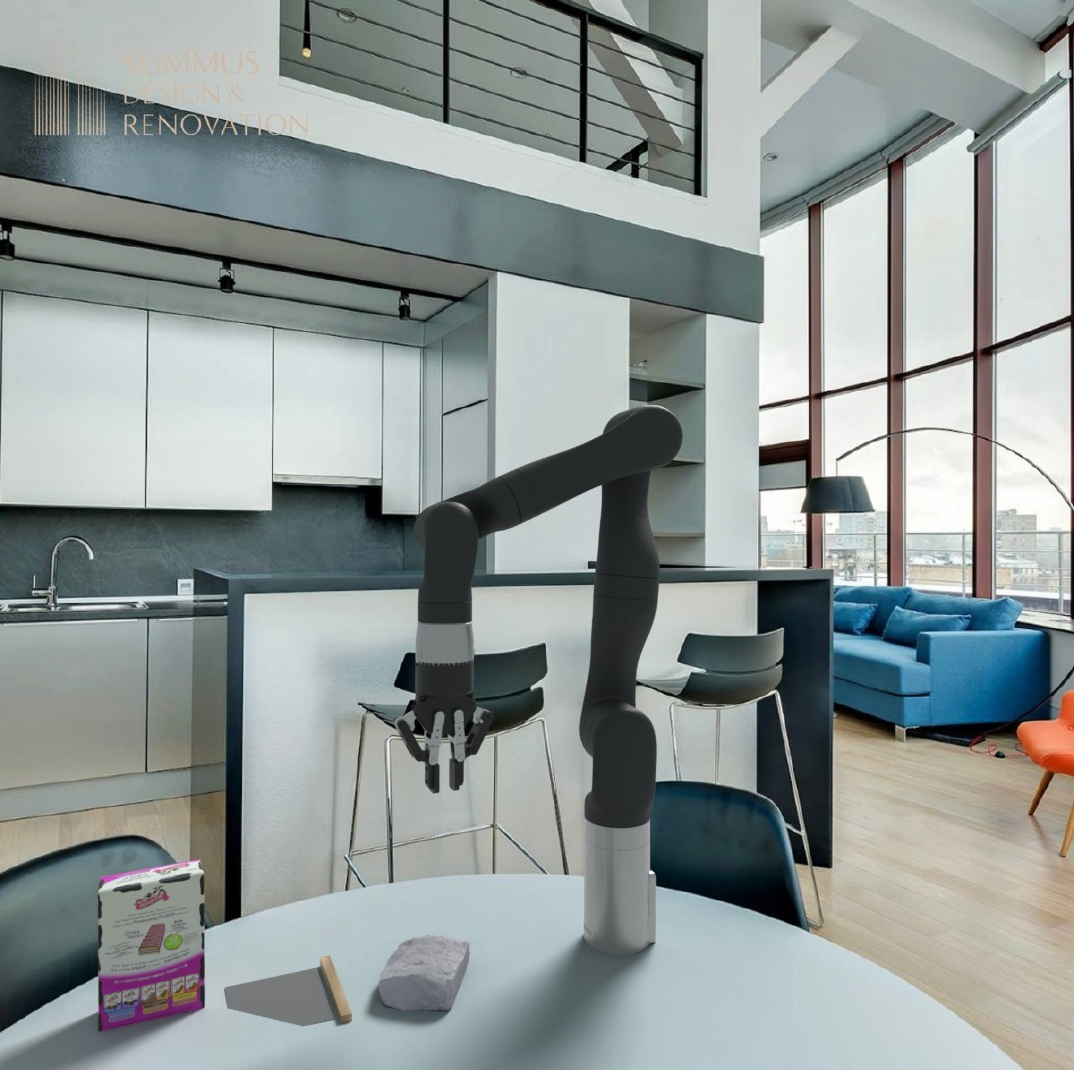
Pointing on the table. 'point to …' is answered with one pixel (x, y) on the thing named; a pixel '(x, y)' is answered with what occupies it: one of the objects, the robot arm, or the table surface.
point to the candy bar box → (150, 944)
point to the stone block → (424, 973)
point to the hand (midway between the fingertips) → (444, 789)
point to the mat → (283, 998)
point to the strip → (335, 989)
